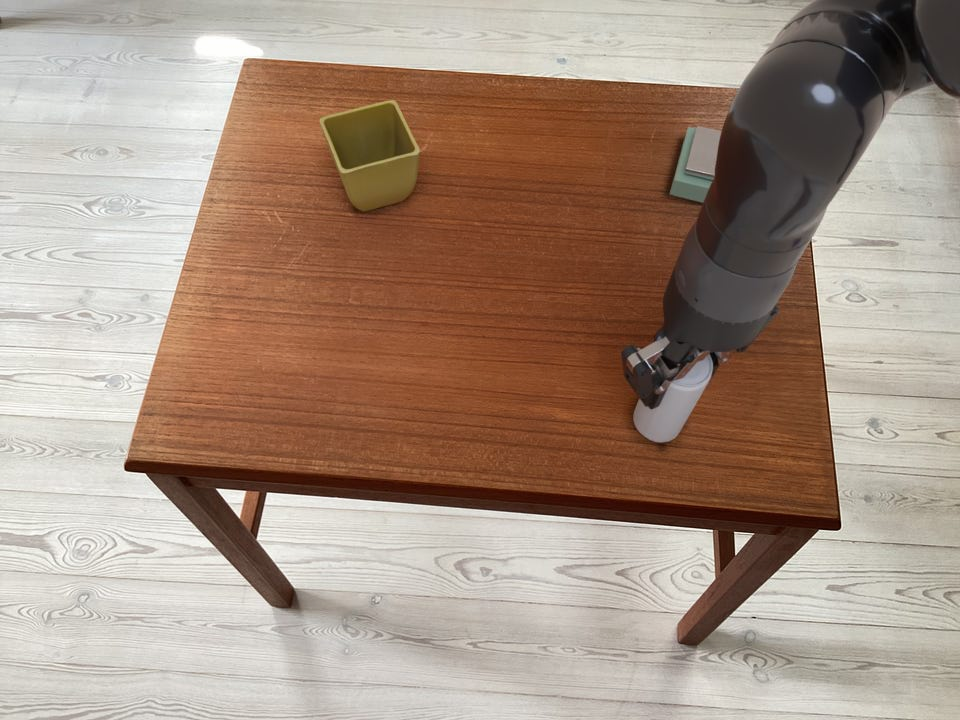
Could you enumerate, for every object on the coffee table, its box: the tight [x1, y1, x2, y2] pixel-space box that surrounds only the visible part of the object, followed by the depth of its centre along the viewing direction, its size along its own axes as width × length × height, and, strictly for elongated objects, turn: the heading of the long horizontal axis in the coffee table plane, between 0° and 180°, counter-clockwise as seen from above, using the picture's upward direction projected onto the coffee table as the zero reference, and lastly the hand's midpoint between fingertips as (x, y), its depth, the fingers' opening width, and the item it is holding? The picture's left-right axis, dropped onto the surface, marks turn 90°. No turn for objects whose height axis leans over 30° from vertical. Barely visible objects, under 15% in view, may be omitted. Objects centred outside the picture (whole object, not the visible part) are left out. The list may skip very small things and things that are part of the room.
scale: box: [669, 126, 713, 204], centre depth 90 cm, size 9×9×3 cm
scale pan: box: [685, 125, 722, 180], centre depth 89 cm, size 7×7×1 cm
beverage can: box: [632, 354, 713, 443], centre depth 70 cm, size 5×5×12 cm
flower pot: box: [319, 99, 421, 213], centre depth 86 cm, size 9×9×9 cm
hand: (673, 387), depth 69 cm, fingers closed on beverage can, 5 cm apart
